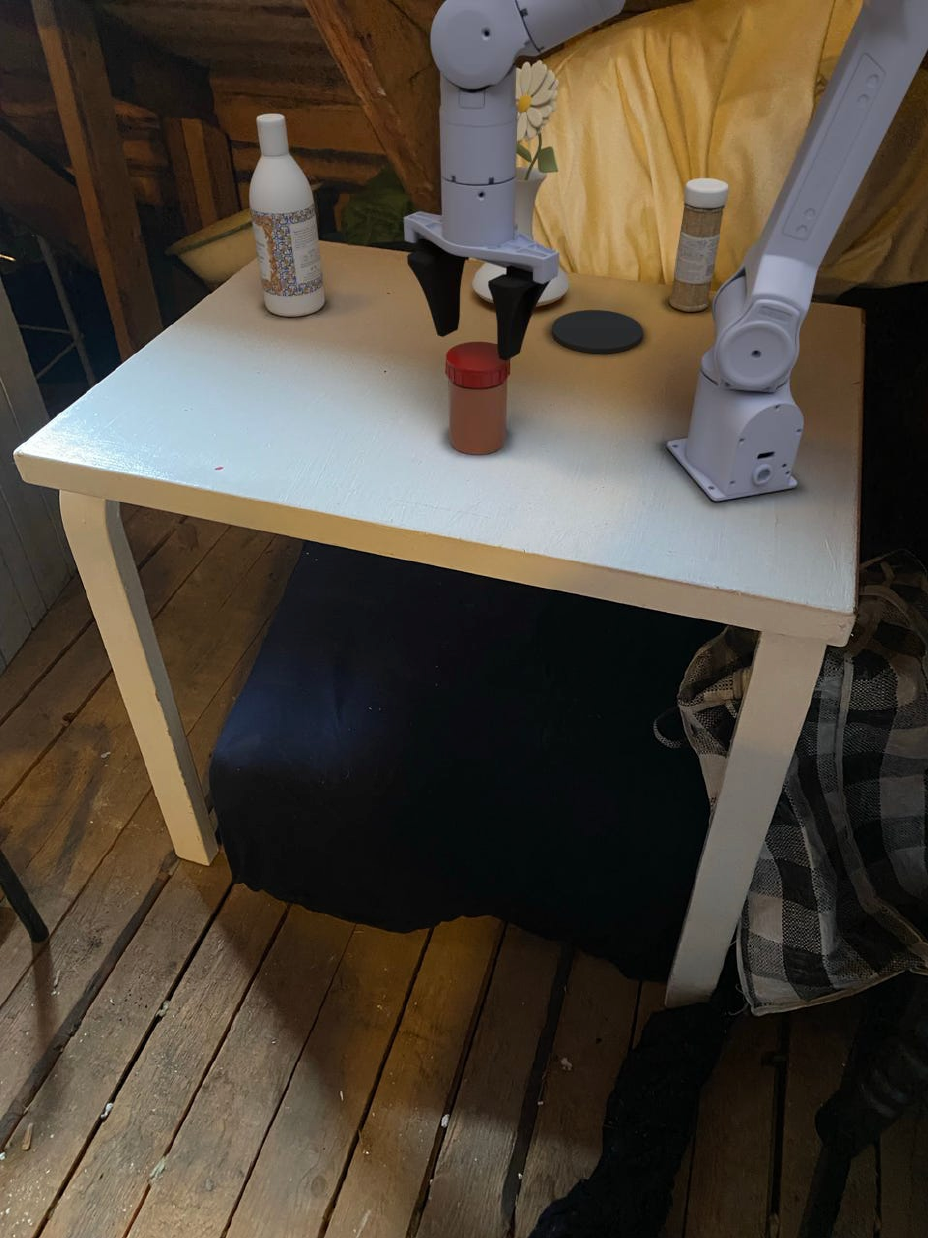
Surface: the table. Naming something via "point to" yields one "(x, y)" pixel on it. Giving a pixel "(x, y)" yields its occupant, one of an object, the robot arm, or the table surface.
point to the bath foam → (284, 226)
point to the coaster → (597, 331)
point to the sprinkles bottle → (698, 243)
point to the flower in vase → (530, 168)
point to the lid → (476, 365)
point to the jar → (477, 418)
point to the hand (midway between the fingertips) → (478, 343)
